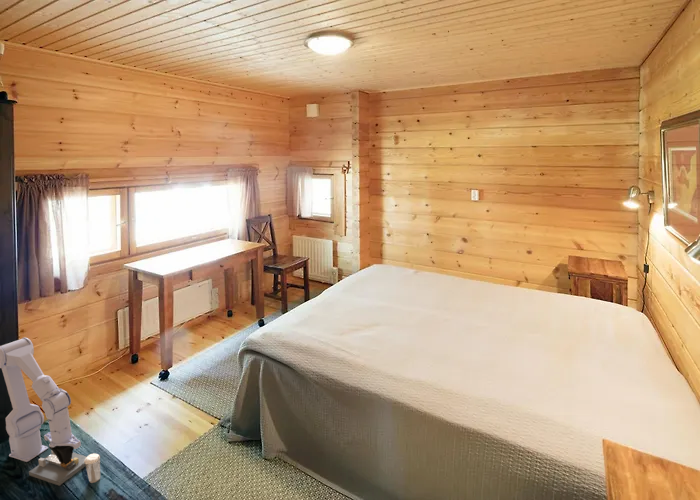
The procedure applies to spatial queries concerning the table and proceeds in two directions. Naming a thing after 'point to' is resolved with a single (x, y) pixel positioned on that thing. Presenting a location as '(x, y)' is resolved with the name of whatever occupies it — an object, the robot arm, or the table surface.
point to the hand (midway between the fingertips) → (65, 461)
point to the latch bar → (57, 461)
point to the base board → (57, 470)
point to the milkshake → (93, 467)
